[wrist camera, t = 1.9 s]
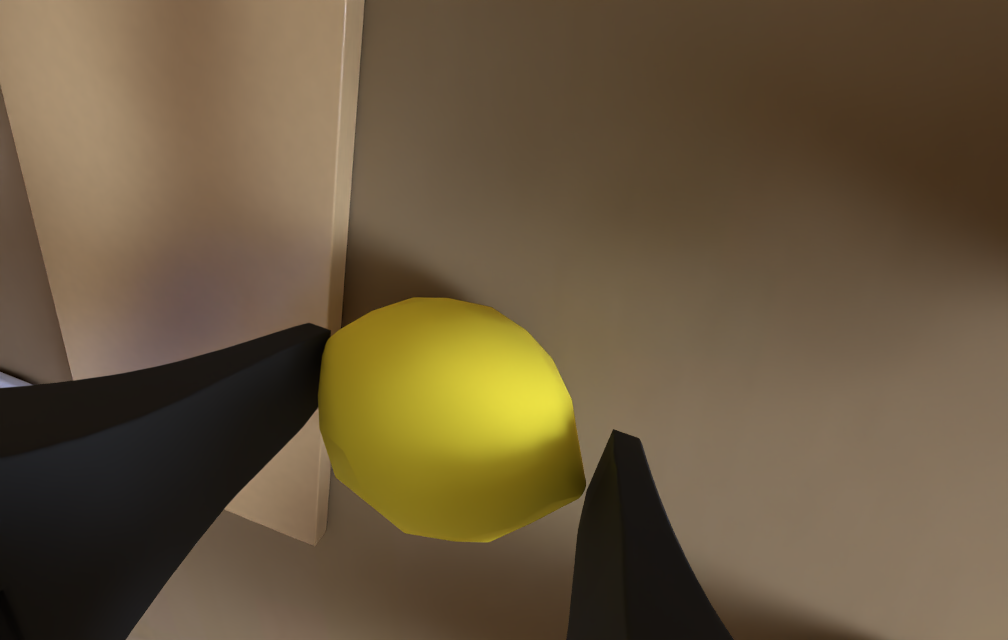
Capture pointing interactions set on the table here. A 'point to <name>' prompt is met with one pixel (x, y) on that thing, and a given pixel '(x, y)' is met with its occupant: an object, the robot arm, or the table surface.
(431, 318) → the lemon
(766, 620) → the table surface
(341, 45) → the birch board
